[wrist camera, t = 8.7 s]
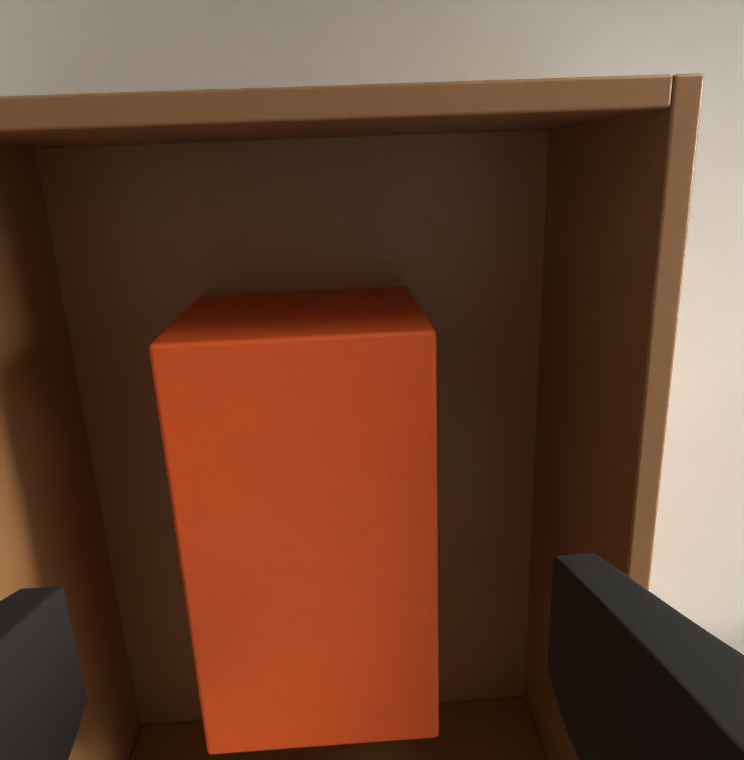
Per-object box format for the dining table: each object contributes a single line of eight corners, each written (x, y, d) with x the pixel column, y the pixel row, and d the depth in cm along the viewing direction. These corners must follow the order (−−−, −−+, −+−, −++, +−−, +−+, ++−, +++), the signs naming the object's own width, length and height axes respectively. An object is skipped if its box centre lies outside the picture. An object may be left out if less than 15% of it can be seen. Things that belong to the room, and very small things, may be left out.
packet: (408, 285, 14) (437, 329, 10) (414, 606, 16) (439, 739, 13) (197, 295, 14) (146, 344, 10) (236, 618, 16) (206, 756, 12)
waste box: (534, 695, 18) (615, 906, 13) (131, 725, 17) (48, 957, 12) (562, 109, 13) (705, 72, 8) (19, 128, 13) (-187, 102, 8)
